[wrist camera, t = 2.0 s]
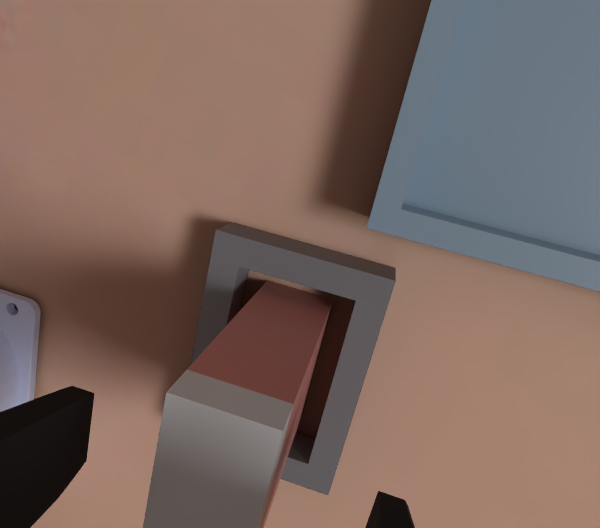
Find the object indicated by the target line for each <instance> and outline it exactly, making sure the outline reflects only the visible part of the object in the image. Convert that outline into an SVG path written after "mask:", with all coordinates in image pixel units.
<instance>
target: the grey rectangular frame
mask: <svg viewBox="0 0 600 528" xmlns="http://www.w3.org/2000/svg"><path fill="white" fill-rule="evenodd" d="M249 270H252V271H256V272H259V273H262V274H266V275H269V276H273V277H276V278H280V279H283V280H286V281H290V282H293V283H297V284H300V285H304V286H307V287H310V288H314V289H317V290H321V291H324V292H327V293H331V294H334V295H338V296H341V297H345V298H348V299H351V300H355V303H354V307H353V310H352V314H351V317H350V321H349V324H348V327H347V331H346V334H345V338H344V341H343V345H342V348H341V352H340V355H339V358H338V362H337V365H336V369H335V372H334V376H333V379H332V382H331V386H330V389H329V393H328V396H327V400H326V403H325V407H324V410H323V413H322V417H321V420H320V424H319V427H318V431H317V434H316V438H315V439H313V438H310V437H307V436H304V435H301V434H298V433H296V434H295V437H294V440H293V443H292V446H291V448H290V451H289V454H288V457H287V460H286V463H285V466H284V469H283V472H282V475H281V478H280V479H283V480H286V481H288V482H291V483H294V484H297V485H300V486H303V487H306V488H309V489H312V490H314V491H317V492H320V493H323V494H326V495H328V494H329V491H330V488H331V485H332V481H333V478H334V475H335V472H336V469H337V465H338V462H339V459H340V456H341V453H342V450H343V446H344V443H345V440H346V437H347V434H348V430H349V427H350V424H351V421H352V418H353V414H354V411H355V408H356V405H357V402H358V399H359V395H360V392H361V389H362V386H363V383H364V379H365V376H366V373H367V370H368V367H369V363H370V360H371V357H372V354H373V351H374V348H375V344H376V341H377V338H378V335H379V332H380V328H381V325H382V322H383V319H384V316H385V312H386V309H387V306H388V303H389V300H390V297H391V293H392V290H393V287H394V284H395V268H393V267H389V266H385V265H382V264H378V263H375V262H371V261H368V260H364V259H361V258H357V257H353V256H350V255H346V254H343V253H339V252H336V251H332V250H328V249H325V248H321V247H318V246H314V245H311V244H307V243H303V242H300V241H296V240H293V239H289V238H286V237H282V236H279V235H275V234H271V233H268V232H264V231H261V230H257V229H254V228H250V227H246V226H243V225H239V224H236V223H232V222H230V223H228V224H226V225H224V226H222V227H220V228H218V229H216V231H215V236H214V242H213V247H212V253H211V258H210V263H209V269H208V274H207V279H206V285H205V290H204V295H203V301H202V306H201V312H200V317H199V322H198V328H197V333H196V338H195V344H194V349H193V354H192V360H191V364H192V363H193V362H194V361H195V360H196V359H197V358H198V357H199V356H200V354H201V353H202V352H203V351H204V350H205V349H206V348H207V347H208V346H209V344H210V343H211V342H212V341H213V340H214V339H215V338H216V337H217V336H218V334H219V333H220V332H221V331H222V330H223V329H224V328H225V327H226V326H227V325H228V323H229V322H230V321H231V320H232V319H233V318H234V317H235V316H236V315H237V313H238V312H239V311H240V308H241V304H242V299H243V294H244V290H245V285H246V280H247V276H248V271H249Z"/></svg>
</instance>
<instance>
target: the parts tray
mask: <svg viewBox="0 0 600 528" xmlns="http://www.w3.org/2000/svg"><path fill="white" fill-rule="evenodd" d="M367 229H371V230H374V231H378V232H382V233H385V234H389V235H393V236H396V237H400V238H404V239H407V240H411V241H415V242H418V243H422V244H426V245H429V246H433V247H437V248H440V249H444V250H448V251H452V252H455V253H459V254H463V255H466V256H470V257H474V258H477V259H481V260H485V261H488V262H492V263H496V264H499V265H503V266H507V267H510V268H514V269H518V270H521V271H525V272H529V273H532V274H536V275H540V276H543V277H547V278H551V279H554V280H558V281H562V282H565V283H569V284H573V285H576V286H580V287H584V288H587V289H591V290H595V291H599V292H600V0H431V3H430V7H429V10H428V14H427V18H426V21H425V25H424V28H423V32H422V35H421V39H420V42H419V46H418V49H417V53H416V56H415V60H414V63H413V67H412V70H411V74H410V77H409V81H408V84H407V88H406V91H405V95H404V98H403V102H402V105H401V109H400V112H399V116H398V120H397V123H396V127H395V130H394V134H393V137H392V141H391V144H390V148H389V151H388V155H387V158H386V162H385V165H384V169H383V172H382V176H381V179H380V183H379V186H378V190H377V193H376V197H375V200H374V204H373V207H372V211H371V214H370V218H369V222H368V225H367Z"/></svg>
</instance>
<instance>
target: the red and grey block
mask: <svg viewBox="0 0 600 528" xmlns="http://www.w3.org/2000/svg"><path fill="white" fill-rule="evenodd" d="M332 303H333V300H332V299H329V298H325V297H322V296H319V295H315V294H312V293H308V292H305V291H302V290H298V289H295V288H291V287H288V286H285V285H281V284H278V283H274V282H271V281H268V280H267V281H266V283H265V284H264V285H263V286H262V287H261V288H260V289H259V290H258V291H257V292H256V294H255V295H254V296H253V297H252V298H251V299H250V300H249V301H248V302H247V304H246V305H245V306H244V307H243V308H242V309H241V310H240V311H239V312H238V313H237V315H236V316H235V317H234V318H233V319H232V320H231V321H230V322H229V323H228V325H227V326H226V327H225V328H224V329H223V330H222V331H221V332H220V333H219V334H218V336H217V337H216V338H215V339H214V340H213V341H212V342H211V343H210V344H209V346H208V347H207V348H206V349H205V350H204V351H203V352H202V353H201V354H200V356H199V357H198V358H197V359H196V360H195V361H194V362H193V363H192V364H191V365H190V367H189V368H188V369H187V370H186V371H185V372H184V373H183V374H182V375H181V377H180V378H179V379H178V380H177V381H176V382H175V383H174V384H173V385H172V386H171V388H170V389H169V390H168V391H167V392H166V397H165V403H164V408H163V414H162V420H161V426H160V432H159V437H158V443H157V449H156V455H155V461H154V466H153V472H152V478H151V484H150V490H149V495H148V501H147V507H146V513H145V519H144V524H143V528H264V525H265V522H266V519H267V516H268V513H269V510H270V507H271V505H272V502H273V499H274V496H275V493H276V490H277V487H278V484H279V481H280V478H281V475H282V472H283V469H284V466H285V463H286V460H287V457H288V454H289V451H290V448H291V446H292V443H293V440H294V437H295V434H296V431H297V428H298V425H299V422H300V419H301V416H302V412H303V409H304V405H305V401H306V398H307V394H308V390H309V387H310V383H311V380H312V376H313V372H314V369H315V365H316V361H317V358H318V354H319V351H320V347H321V343H322V340H323V336H324V332H325V329H326V325H327V322H328V318H329V314H330V311H331V307H332Z"/></svg>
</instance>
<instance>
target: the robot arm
mask: <svg viewBox="0 0 600 528" xmlns="http://www.w3.org/2000/svg"><path fill="white" fill-rule="evenodd" d="M14 304H15V305H16V306H17V308H18V311H17V310H16V309H15V307H14ZM40 315H41V312H40V307H39V305H38V304H37V303H36V302H35V301H34V300H32V299H30V298H27V297H24V296H21V295H18V294H15V293H12V292H8V291H5V290H2V289H0V528H30V527H31V526H32V525H33V524H34V523H35V522H36V521H37V520H38V519H39V518H40V517H41V516H42V515H43V514H44V513H45V511H46V510H47V509H48V508H49V507H50V506H51V505H52V504H53V503H54V502H55V501H56V500H57V499H58V498H59V496H60V495H61V494H62V492H63V491H64V490H65V489H66V487H67V486H68V485H69V483H70V482H71V481H72V479H73V478H74V477H75V475H76V474H77V473H78V471H79V470H80V469H81V467H82V466H83V464H84V463H85V462H86V459H87V451H88V442H89V434H90V425H91V417H92V409H93V400H94V393H92V392H89V391H86V390H83V389H80V388H77V387H74V386H71V387H67V388H64V389H61V390H58V391H56V392H53V393H50V394H47V395H45V396H42V397H39V398H36V399H34V393H35V380H36V367H37V354H38V341H39V328H40ZM366 528H415V527H414V524H413V521H412V518H411V514H410V511H409V508H408V505H407V503H406V501H405V500H403V499H400V498H397V497H394V496H392V495H389V494H386V493H383V492H380V491H378V494H377V496H376V499H375V502H374V505H373V508H372V511H371V514H370V516H369V519H368V522H367V525H366Z"/></svg>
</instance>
